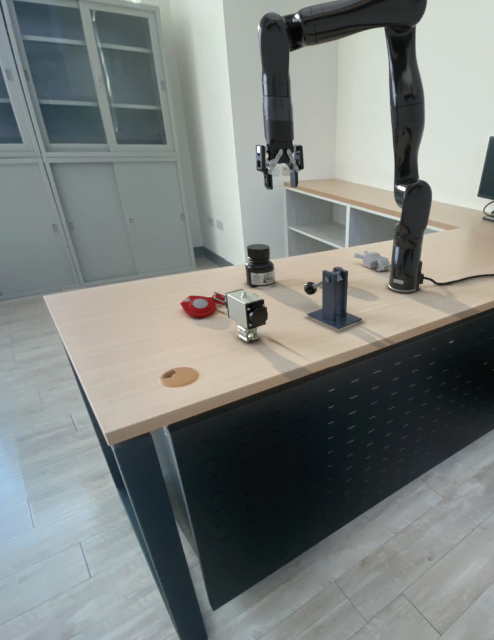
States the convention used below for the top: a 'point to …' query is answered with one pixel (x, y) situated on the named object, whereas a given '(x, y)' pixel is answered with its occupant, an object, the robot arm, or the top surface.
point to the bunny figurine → (374, 260)
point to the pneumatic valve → (246, 312)
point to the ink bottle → (259, 266)
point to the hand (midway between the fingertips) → (282, 188)
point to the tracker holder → (202, 305)
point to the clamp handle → (318, 284)
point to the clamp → (334, 301)
